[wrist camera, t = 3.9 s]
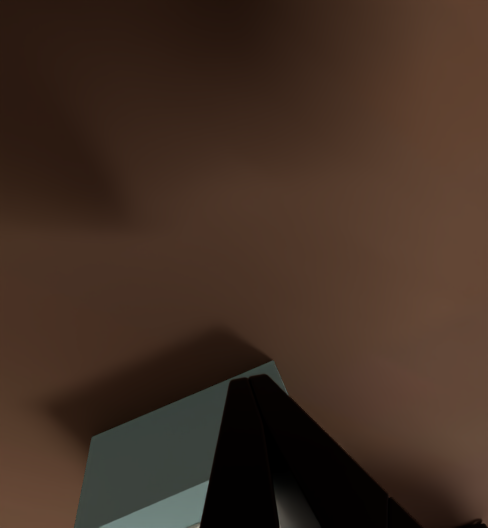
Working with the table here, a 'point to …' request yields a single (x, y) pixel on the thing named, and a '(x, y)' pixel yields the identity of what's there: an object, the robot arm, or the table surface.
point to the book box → (157, 463)
